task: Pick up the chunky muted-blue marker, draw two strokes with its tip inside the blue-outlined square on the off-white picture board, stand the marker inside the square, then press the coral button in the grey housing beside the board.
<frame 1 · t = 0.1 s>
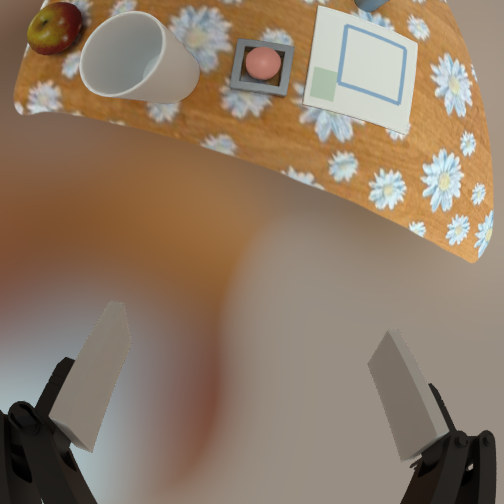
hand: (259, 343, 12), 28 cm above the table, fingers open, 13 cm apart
board: (365, 68, 29), on the table
marker: (365, 2, 23), on the table
fruit: (68, 32, 24), on the table
cup: (170, 76, 30), on the table
button: (262, 63, 26), point 3 cm above the table, slide at 0.0 cm
button housing: (261, 69, 29), on the table
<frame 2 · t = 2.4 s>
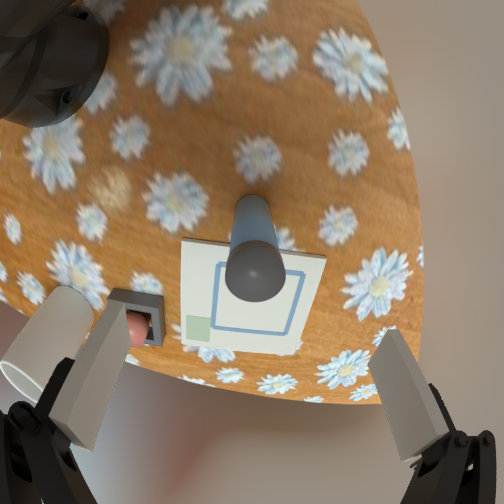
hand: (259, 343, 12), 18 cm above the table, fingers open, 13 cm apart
board: (245, 304, 34), on the table
marker: (252, 211, 28), on the table
cup: (73, 306, 34), on the table
button: (132, 329, 31), point 3 cm above the table, slide at 0.0 cm
button housing: (140, 312, 34), on the table
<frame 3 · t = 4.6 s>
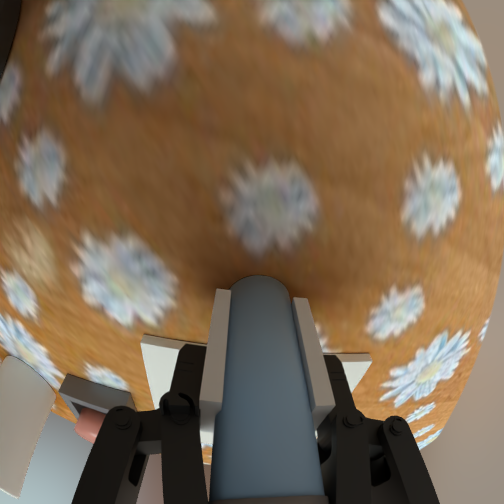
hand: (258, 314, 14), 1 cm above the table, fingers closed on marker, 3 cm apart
board: (246, 408, 21), on the table
marker: (257, 302, 15), on the table, touching gripper
cup: (30, 378, 22), on the table
button: (96, 428, 18), point 3 cm above the table, slide at 0.0 cm
button housing: (105, 402, 22), on the table
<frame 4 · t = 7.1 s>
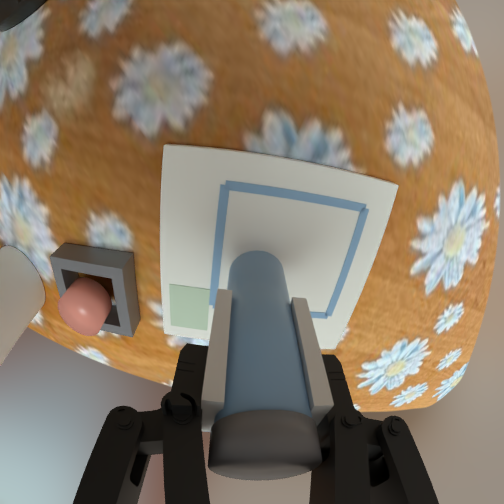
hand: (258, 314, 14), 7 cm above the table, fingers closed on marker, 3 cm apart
board: (268, 264, 21), on the table
marker: (256, 275, 18), point 3 cm above the table, touching gripper
cup: (20, 278, 21), on the table
button: (84, 306, 18), point 3 cm above the table, slide at 0.0 cm
button housing: (101, 282, 21), on the table
when the fingers open (2 cm above the table, at t = 10.0 s): marker stays where it is, resting on board.
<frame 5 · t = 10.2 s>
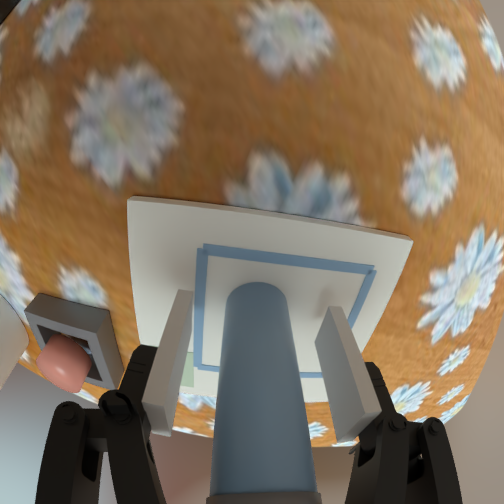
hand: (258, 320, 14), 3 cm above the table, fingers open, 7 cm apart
board: (257, 328, 18), on the table
marker: (256, 307, 16), point 1 cm above the table, touching board
cup: (3, 317, 19), on the table
button: (63, 364, 15), point 3 cm above the table, slide at 0.0 cm
button housing: (80, 334, 18), on the table
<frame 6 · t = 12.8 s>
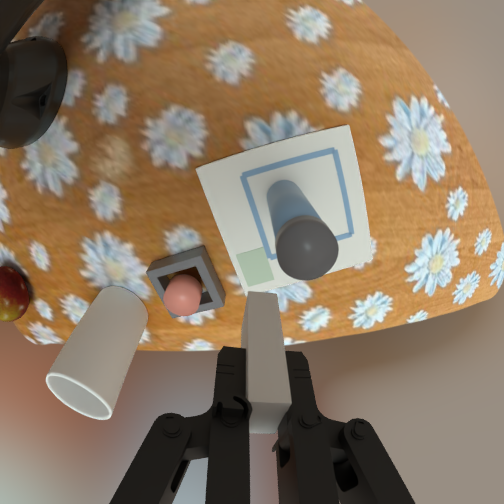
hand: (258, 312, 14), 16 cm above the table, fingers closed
board: (293, 214, 29), on the table
marker: (284, 197, 27), point 1 cm above the table, touching board
fruit: (18, 281, 34), on the table
cup: (122, 309, 35), on the table
button: (183, 295, 30), point 3 cm above the table, slide at 0.0 cm
button housing: (188, 278, 33), on the table
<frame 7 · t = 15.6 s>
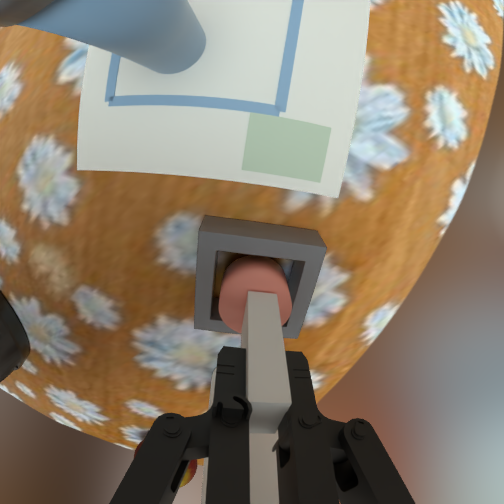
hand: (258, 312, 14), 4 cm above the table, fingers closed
board: (219, 42, 12), on the table
marker: (173, 45, 11), point 1 cm above the table, touching board
fruit: (168, 440, 32), on the table
cup: (255, 378, 24), on the table
button: (254, 295, 16), point 3 cm above the table, slide at 0.8 cm, touching gripper
button housing: (253, 271, 18), on the table
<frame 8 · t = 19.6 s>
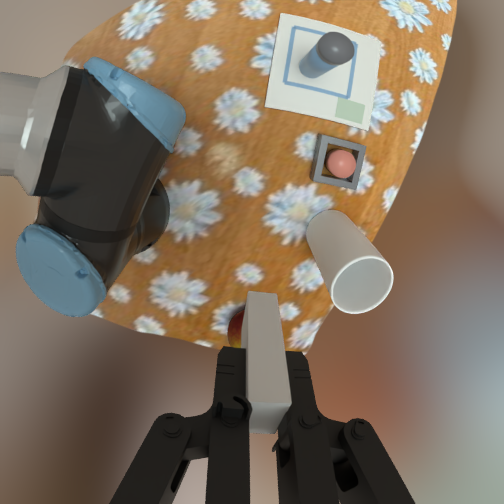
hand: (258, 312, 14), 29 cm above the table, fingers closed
board: (326, 69, 32), on the table
marker: (311, 67, 32), point 1 cm above the table, touching board
fruit: (252, 318, 53), on the table
cup: (329, 232, 45), on the table
button: (340, 163, 37), point 2 cm above the table, slide at 1.1 cm
button housing: (335, 160, 39), on the table
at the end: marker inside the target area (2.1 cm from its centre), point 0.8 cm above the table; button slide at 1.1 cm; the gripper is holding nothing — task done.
